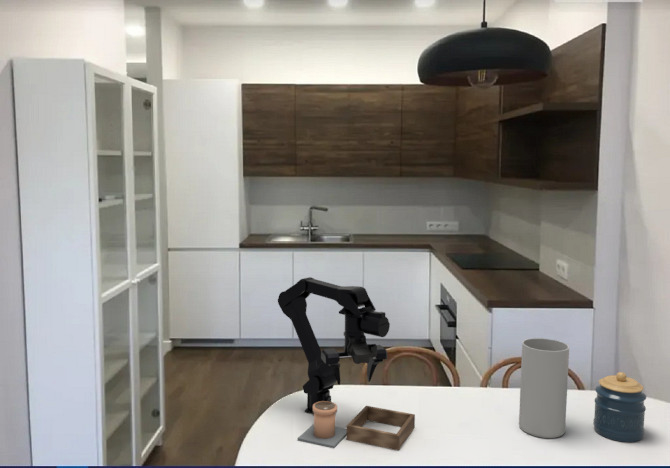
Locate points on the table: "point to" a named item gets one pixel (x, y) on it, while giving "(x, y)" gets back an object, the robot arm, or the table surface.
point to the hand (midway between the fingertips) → (353, 382)
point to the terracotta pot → (324, 419)
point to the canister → (619, 408)
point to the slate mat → (329, 442)
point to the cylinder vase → (543, 387)
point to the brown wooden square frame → (376, 436)
